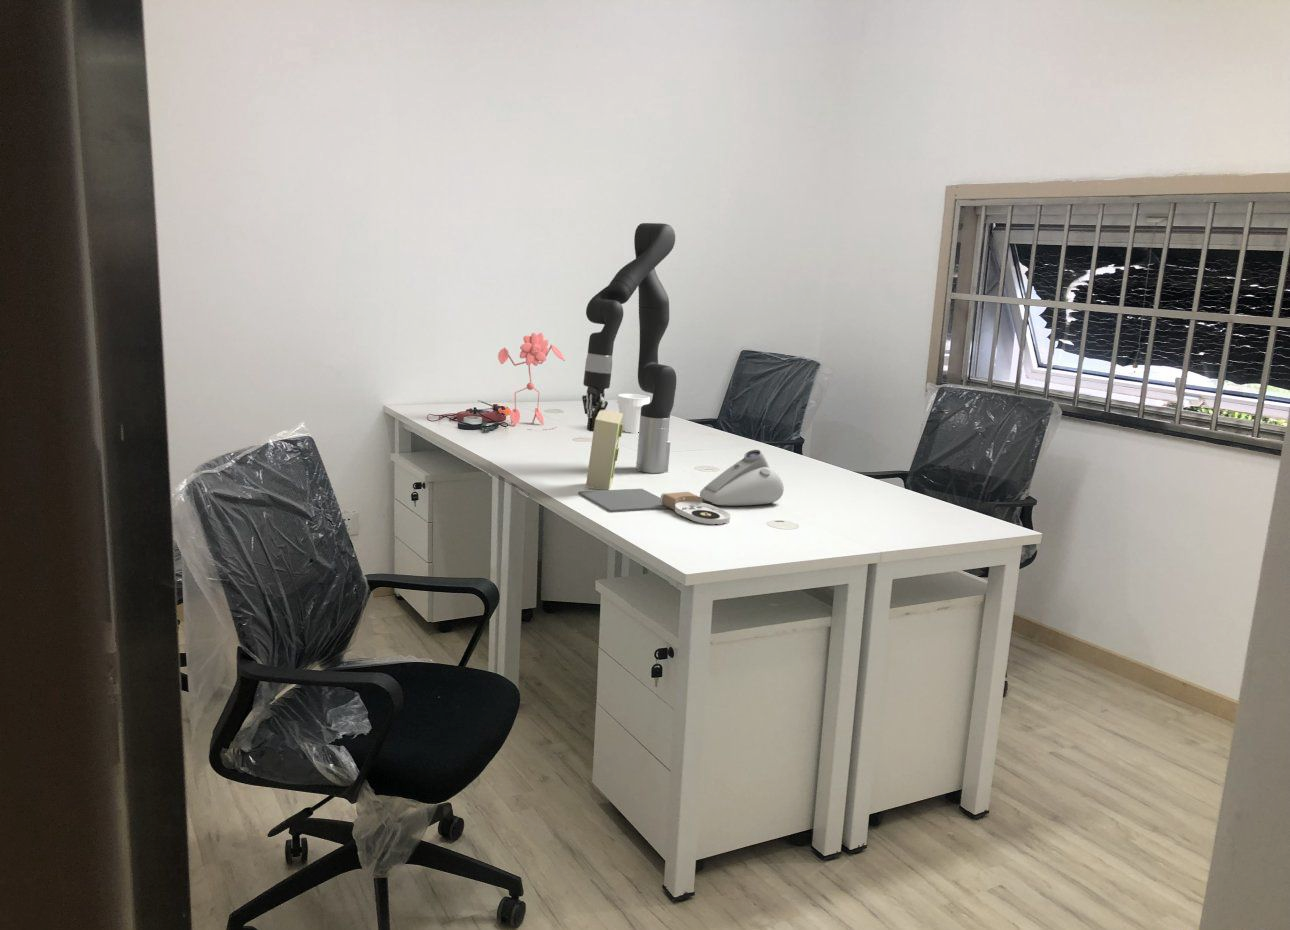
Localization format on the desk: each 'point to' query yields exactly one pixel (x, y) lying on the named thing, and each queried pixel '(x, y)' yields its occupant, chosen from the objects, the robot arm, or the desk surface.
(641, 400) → the cup
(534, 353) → the figurine
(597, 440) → the toy refrigerator
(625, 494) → the mat
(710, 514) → the record player
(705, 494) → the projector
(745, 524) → the desk surface
